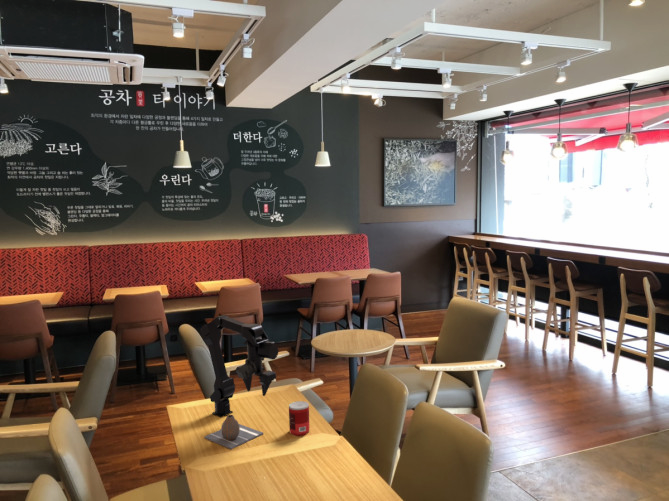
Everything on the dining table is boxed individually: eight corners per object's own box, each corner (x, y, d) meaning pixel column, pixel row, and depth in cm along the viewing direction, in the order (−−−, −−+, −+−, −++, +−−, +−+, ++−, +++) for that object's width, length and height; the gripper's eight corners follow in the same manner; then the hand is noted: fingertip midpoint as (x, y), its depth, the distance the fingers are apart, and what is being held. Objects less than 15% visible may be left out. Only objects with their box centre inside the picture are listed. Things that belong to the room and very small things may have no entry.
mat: (204, 438, 203) (204, 436, 203) (236, 424, 215) (236, 422, 215) (231, 449, 193) (231, 447, 192) (263, 434, 205) (263, 432, 205)
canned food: (312, 429, 208) (312, 402, 207) (303, 437, 201) (302, 409, 200) (296, 426, 211) (295, 399, 211) (286, 434, 204) (285, 406, 203)
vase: (242, 434, 203) (241, 412, 203) (236, 442, 197) (236, 419, 196) (225, 434, 204) (224, 412, 204) (218, 441, 197) (218, 419, 197)
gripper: (224, 356, 213) (226, 394, 214) (255, 364, 201) (257, 404, 203) (245, 350, 222) (246, 386, 223) (276, 357, 210) (277, 395, 211)
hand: (256, 393), depth 215 cm, fingers open, 9 cm apart
